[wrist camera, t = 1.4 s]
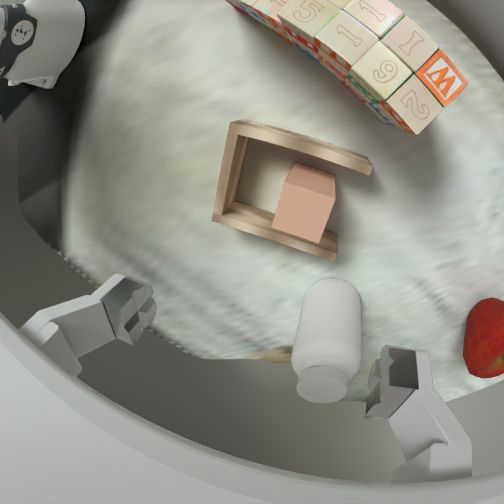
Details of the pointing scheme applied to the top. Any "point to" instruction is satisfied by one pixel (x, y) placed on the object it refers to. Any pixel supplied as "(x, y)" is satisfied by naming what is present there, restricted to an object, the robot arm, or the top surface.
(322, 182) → the terracotta block
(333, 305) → the pill bottle
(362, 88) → the stack of blocks
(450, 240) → the top surface
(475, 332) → the apple
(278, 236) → the oak u-shaped frame
